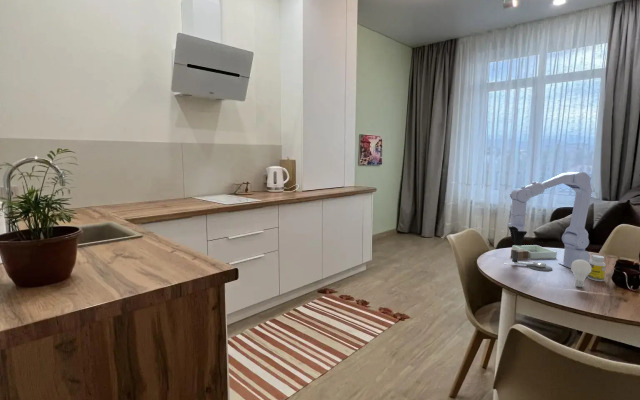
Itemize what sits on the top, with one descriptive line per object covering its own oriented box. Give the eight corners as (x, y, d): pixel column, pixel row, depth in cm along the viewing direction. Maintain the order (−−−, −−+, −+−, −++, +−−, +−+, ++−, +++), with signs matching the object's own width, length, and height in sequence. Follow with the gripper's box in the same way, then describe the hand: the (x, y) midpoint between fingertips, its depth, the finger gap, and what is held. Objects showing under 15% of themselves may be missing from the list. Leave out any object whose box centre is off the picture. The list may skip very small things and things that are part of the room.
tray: (556, 259, 172) (556, 252, 171) (530, 259, 170) (530, 252, 170) (535, 251, 185) (536, 245, 185) (511, 252, 184) (512, 245, 183)
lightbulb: (567, 287, 132) (570, 259, 131) (570, 283, 137) (572, 256, 136) (588, 291, 128) (591, 263, 127) (590, 287, 133) (593, 259, 132)
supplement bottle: (584, 277, 144) (586, 255, 142) (592, 276, 146) (594, 254, 145) (599, 282, 139) (601, 258, 138) (606, 280, 141) (609, 257, 140)
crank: (543, 265, 158) (545, 251, 158) (547, 268, 154) (548, 254, 153) (510, 262, 163) (511, 248, 162) (512, 265, 158) (513, 251, 157)
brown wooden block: (528, 251, 169) (517, 251, 168) (527, 260, 170) (517, 260, 169) (521, 248, 174) (511, 249, 173) (521, 257, 174) (510, 257, 173)
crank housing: (548, 265, 160) (548, 264, 160) (555, 272, 151) (555, 271, 151) (501, 261, 166) (501, 260, 166) (505, 267, 157) (505, 266, 157)
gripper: (505, 212, 166) (503, 239, 167) (511, 216, 152) (509, 246, 153) (522, 212, 163) (520, 240, 165) (530, 217, 150) (527, 247, 151)
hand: (516, 243), depth 159 cm, fingers open, 7 cm apart
